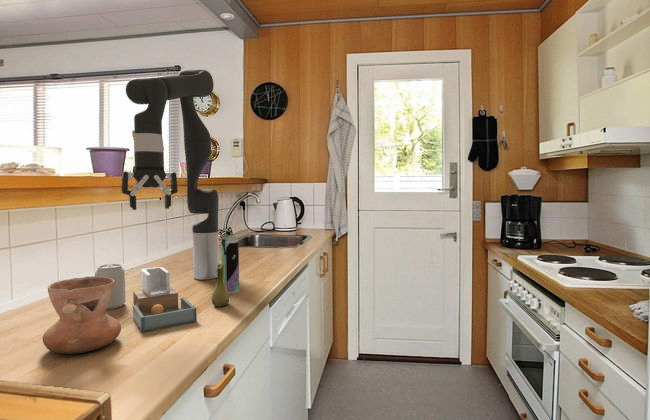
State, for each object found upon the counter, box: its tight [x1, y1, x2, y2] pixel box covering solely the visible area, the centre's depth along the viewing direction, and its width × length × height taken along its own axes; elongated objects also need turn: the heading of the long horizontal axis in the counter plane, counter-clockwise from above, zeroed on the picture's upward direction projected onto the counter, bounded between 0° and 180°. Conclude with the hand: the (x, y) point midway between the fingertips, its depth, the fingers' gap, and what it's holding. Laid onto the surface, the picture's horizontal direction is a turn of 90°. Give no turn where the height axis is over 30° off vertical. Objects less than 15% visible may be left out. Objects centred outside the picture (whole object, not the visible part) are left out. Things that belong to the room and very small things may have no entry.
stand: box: [132, 285, 179, 314], centre depth 111 cm, size 9×10×5 cm
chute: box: [140, 266, 171, 297], centre depth 111 cm, size 9×6×6 cm, turn 34°
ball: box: [151, 304, 164, 315], centre depth 104 cm, size 3×3×3 cm
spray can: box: [220, 230, 240, 295], centre depth 129 cm, size 6×6×20 cm
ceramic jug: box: [42, 275, 122, 355], centre depth 86 cm, size 18×14×14 cm
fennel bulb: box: [211, 263, 230, 307], centre depth 115 cm, size 6×5×12 cm
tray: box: [132, 296, 198, 333], centre depth 103 cm, size 12×13×4 cm
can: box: [94, 263, 127, 311], centre depth 114 cm, size 8×8×12 cm
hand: (150, 209), depth 112 cm, fingers open, 8 cm apart
